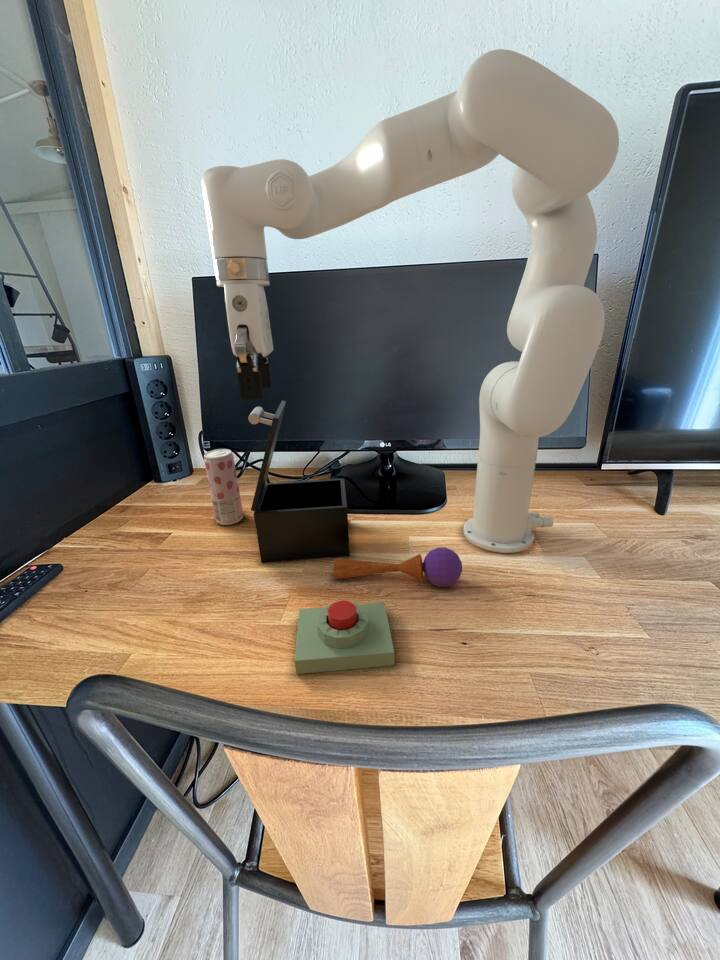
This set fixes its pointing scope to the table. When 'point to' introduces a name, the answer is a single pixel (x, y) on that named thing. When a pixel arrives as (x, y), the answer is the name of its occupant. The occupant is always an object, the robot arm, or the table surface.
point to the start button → (342, 615)
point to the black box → (302, 520)
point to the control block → (343, 640)
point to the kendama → (408, 567)
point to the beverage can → (223, 486)
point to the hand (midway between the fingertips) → (257, 392)
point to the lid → (275, 426)
